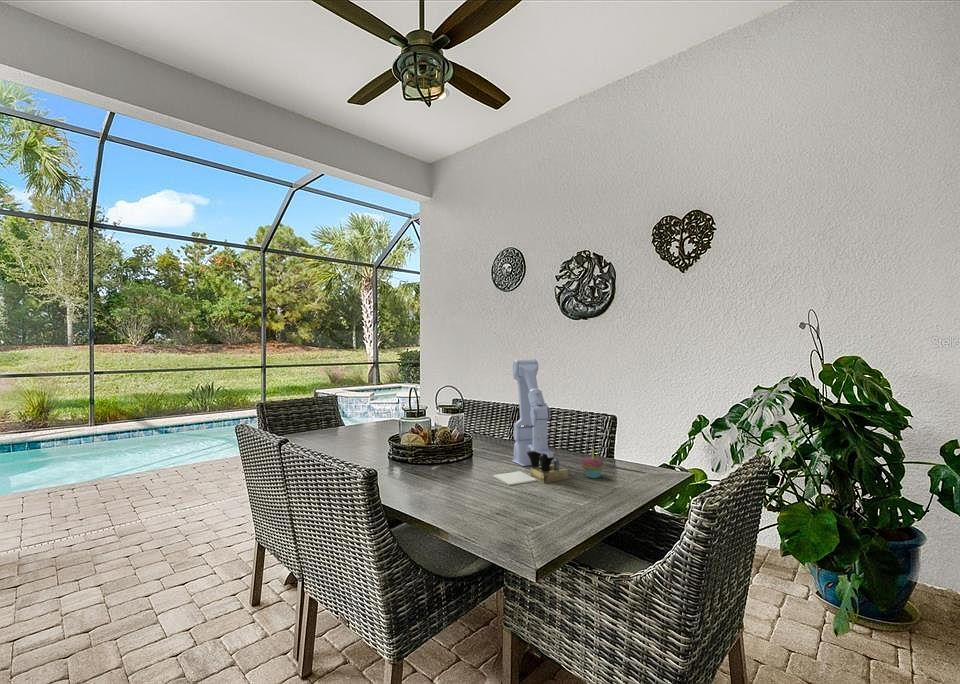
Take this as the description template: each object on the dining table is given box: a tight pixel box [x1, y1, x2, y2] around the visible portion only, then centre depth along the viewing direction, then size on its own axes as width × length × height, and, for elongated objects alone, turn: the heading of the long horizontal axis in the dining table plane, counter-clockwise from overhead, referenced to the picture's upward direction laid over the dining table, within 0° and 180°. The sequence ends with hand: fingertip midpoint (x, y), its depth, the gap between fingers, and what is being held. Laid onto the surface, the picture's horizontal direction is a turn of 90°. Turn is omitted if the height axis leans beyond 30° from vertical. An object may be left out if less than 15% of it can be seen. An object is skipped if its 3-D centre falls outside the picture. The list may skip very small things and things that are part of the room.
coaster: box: [492, 470, 538, 486], centre depth 173 cm, size 12×12×1 cm
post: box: [553, 458, 560, 470], centre depth 176 cm, size 2×2×7 cm
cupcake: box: [580, 447, 605, 479], centre depth 176 cm, size 9×8×12 cm
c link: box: [530, 463, 569, 484], centre depth 174 cm, size 9×11×4 cm
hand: (540, 472), depth 177 cm, fingers open, 6 cm apart
